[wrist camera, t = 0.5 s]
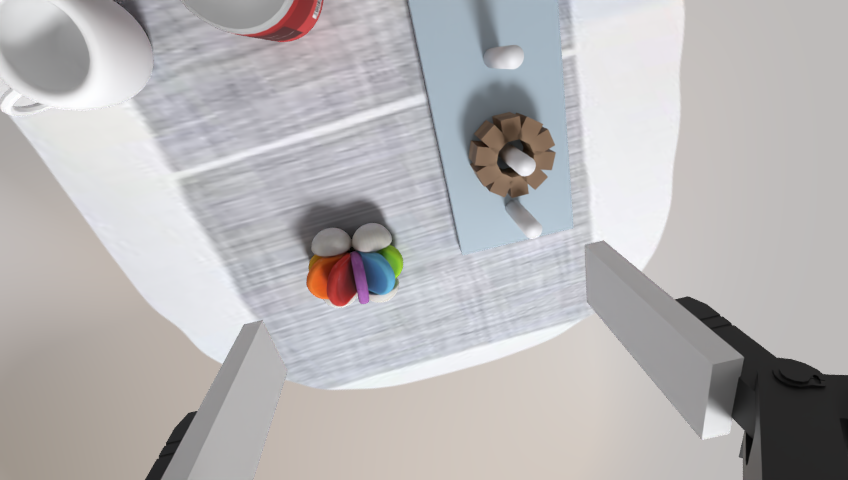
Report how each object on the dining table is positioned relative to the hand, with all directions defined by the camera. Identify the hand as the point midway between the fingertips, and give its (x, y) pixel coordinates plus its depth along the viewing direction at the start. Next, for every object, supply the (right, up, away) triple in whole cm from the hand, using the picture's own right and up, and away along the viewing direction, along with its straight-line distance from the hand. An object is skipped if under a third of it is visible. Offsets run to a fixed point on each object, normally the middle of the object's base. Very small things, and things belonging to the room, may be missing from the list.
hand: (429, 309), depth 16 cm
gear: (+7, +11, +21) cm, 25 cm away
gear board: (+7, +14, +21) cm, 26 cm away
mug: (-27, +18, +17) cm, 36 cm away
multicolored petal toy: (-7, +1, +26) cm, 27 cm away
